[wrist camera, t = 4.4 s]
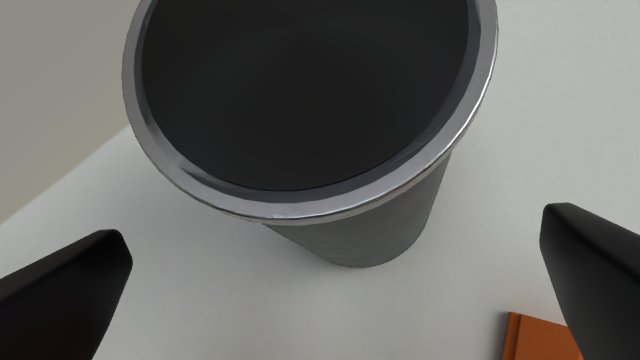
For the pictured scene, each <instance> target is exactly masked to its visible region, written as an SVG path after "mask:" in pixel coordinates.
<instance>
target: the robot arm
mask: <svg viewBox="0 0 640 360" xmlns="http://www.w3.org/2000/svg"><path fill="white" fill-rule="evenodd" d="M539 244H540V250H541V253H542V256H543V259H544V262H545V265H546V268H547V271H548V273H549V276H550V279H551V282H552V285H553V288H554V291H555V294H556V297H557V300H558V302H559V305H560V308H561V311H562V314H563V316H564V319H565V321H566V324H567V326H568V328H569V330H570V332H571V335H572V337H573V339H574V341H575V343H576V345H577V347H578V349H579V351H580V353H581V355H582V357H583V359H584V360H640V235H638V234H636V233H634V232H632V231H630V230H627V229H625V228H623V227H621V226H619V225H617V224H614V223H612V222H610V221H608V220H606V219H604V218H602V217H599V216H597V215H595V214H593V213H591V212H589V211H587V210H584V209H582V208H580V207H578V206H576V205H574V204H571V203H552V204H547V205H546V206H545V208H544V210H543V216H542V223H541V231H540V239H539ZM132 266H133V260H132V256H131V254H130V251H129V249H128V247H127V245H126V243H125V241H124V238H123V236H122V234H121V233H120V232H119V231H118V230H116V229H109V230H99V231H96V232H94V233H92V234H90V235H88V236H86V237H84V238H82V239H80V240H78V241H76V242H74V243H72V244H70V245H68V246H66V247H64V248H62V249H60V250H58V251H56V252H54V253H52V254H50V255H48V256H46V257H44V258H42V259H40V260H38V261H36V262H34V263H32V264H30V265H28V266H26V267H24V268H22V269H20V270H18V271H16V272H14V273H12V274H9V275H7V276H5V277H3V278H1V279H0V360H92V359H93V357H94V355H95V353H96V351H97V349H98V347H99V345H100V343H101V341H102V339H103V337H104V335H105V333H106V331H107V329H108V327H109V324H110V322H111V320H112V317H113V315H114V312H115V310H116V307H117V305H118V302H119V300H120V297H121V295H122V292H123V290H124V287H125V285H126V282H127V280H128V277H129V275H130V272H131V270H132Z"/></svg>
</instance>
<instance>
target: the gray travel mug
mask: <svg viewBox="0 0 640 360" xmlns="http://www.w3.org/2000/svg"><path fill="white" fill-rule="evenodd" d="M498 32H499V28H498V17H497V6H496V2H495V0H141V1H140V3H139V5H138V7H137V9H136V12H135V14H134V16H133V19H132V22H131V25H130V28H129V31H128V34H127V37H126V43H125V47H124V52H123V62H122V88H123V98H124V103H125V107H126V112H127V116H128V118H129V121H130V124H131V127H132V129H133V132H134V134H135V137H136V139H137V140H138V142H139V144H140V146H141V147H142V149H143V151H144V152H145V154H146V156H147V157H148V158H149V159H150V161H151V162H152V163H153V164H154V166H155V167H156V168H157V169H158V171H159V172H160V173H161V174H162V175H164V176H165V177H166V178H167V179H168V180H169V181H170V182H171V183H172V184H173V185H175V186H176V187H177V188H178V189H180V190H181V191H183V192H184V193H186V194H188V195H189V196H191V197H192V198H194V199H195V200H197V201H199V202H201V203H203V204H205V205H207V206H209V207H211V208H214V209H216V210H218V211H220V212H222V213H224V214H227V215H230V216H233V217H237V218H240V219H243V220H247V221H250V222H257V223H261V224H263V225H265V226H267V227H268V228H270V229H272V230H274V231H275V232H277V233H279V234H281V235H282V236H284V237H286V238H288V239H290V240H291V241H293V242H295V243H297V244H298V245H300V246H302V247H304V248H306V249H307V250H309V251H311V252H313V253H314V254H316V255H318V256H320V257H322V258H323V259H325V260H328V261H330V262H332V263H335V264H338V265H341V266H347V267H359V268H362V267H371V266H375V265H380V264H383V263H385V262H388V261H390V260H392V259H394V258H396V257H397V256H399V255H400V254H402V253H403V252H405V251H406V250H407V249H408V248H409V247H410V246H411V245H412V244H413V243H414V242H415V241H416V239H417V238H418V237H419V236H420V234H421V232H422V230H423V229H424V227H425V225H426V222H427V220H428V217H429V214H430V212H431V209H432V206H433V203H434V200H435V197H436V195H437V192H438V189H439V186H440V183H441V181H442V178H443V175H444V172H445V169H446V167H447V164H448V161H449V158H450V155H451V152H452V150H453V149H454V147H455V146H456V145H457V143H458V142H459V141H460V140H461V138H462V137H463V136H464V134H465V133H466V131H467V129H468V128H469V126H470V124H471V122H472V121H473V119H474V117H475V116H476V114H477V112H478V110H479V107H480V105H481V102H482V100H483V97H484V95H485V92H486V90H487V87H488V85H489V82H490V80H491V77H492V73H493V68H494V64H495V60H496V55H497V45H498Z"/></svg>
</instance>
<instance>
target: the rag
mask: <svg viewBox="0 0 640 360" xmlns="http://www.w3.org/2000/svg"><path fill="white" fill-rule="evenodd" d="M501 360H584V359H583V357H582V355H581V353H580V351H579V349H578V347H577V345H576V343H575V341H574V339H573V337H572V335H571V332H570V330H569V328H568V327H566V326H563V325H559V324H555V323H552V322H548V321H544V320H541V319H537V318H533V317H530V316H526V315H523V314H518V313H514V312H509V316H508V322H507V329H506V335H505V341H504V347H503V353H502V359H501Z"/></svg>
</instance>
